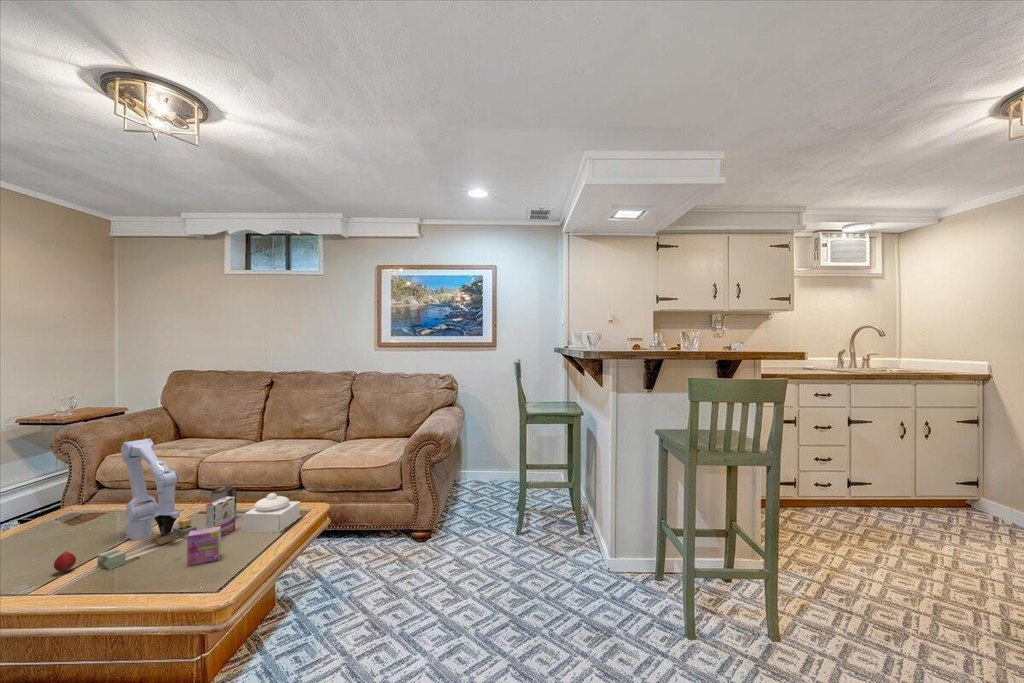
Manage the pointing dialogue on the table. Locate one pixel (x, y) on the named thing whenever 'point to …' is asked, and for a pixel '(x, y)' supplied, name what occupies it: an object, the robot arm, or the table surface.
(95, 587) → the table surface
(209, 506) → the candy bar box
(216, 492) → the coffee box
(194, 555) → the box
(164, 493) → the robot arm
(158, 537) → the carriage
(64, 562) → the onion
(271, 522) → the butter dish
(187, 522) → the button
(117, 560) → the rail stand
